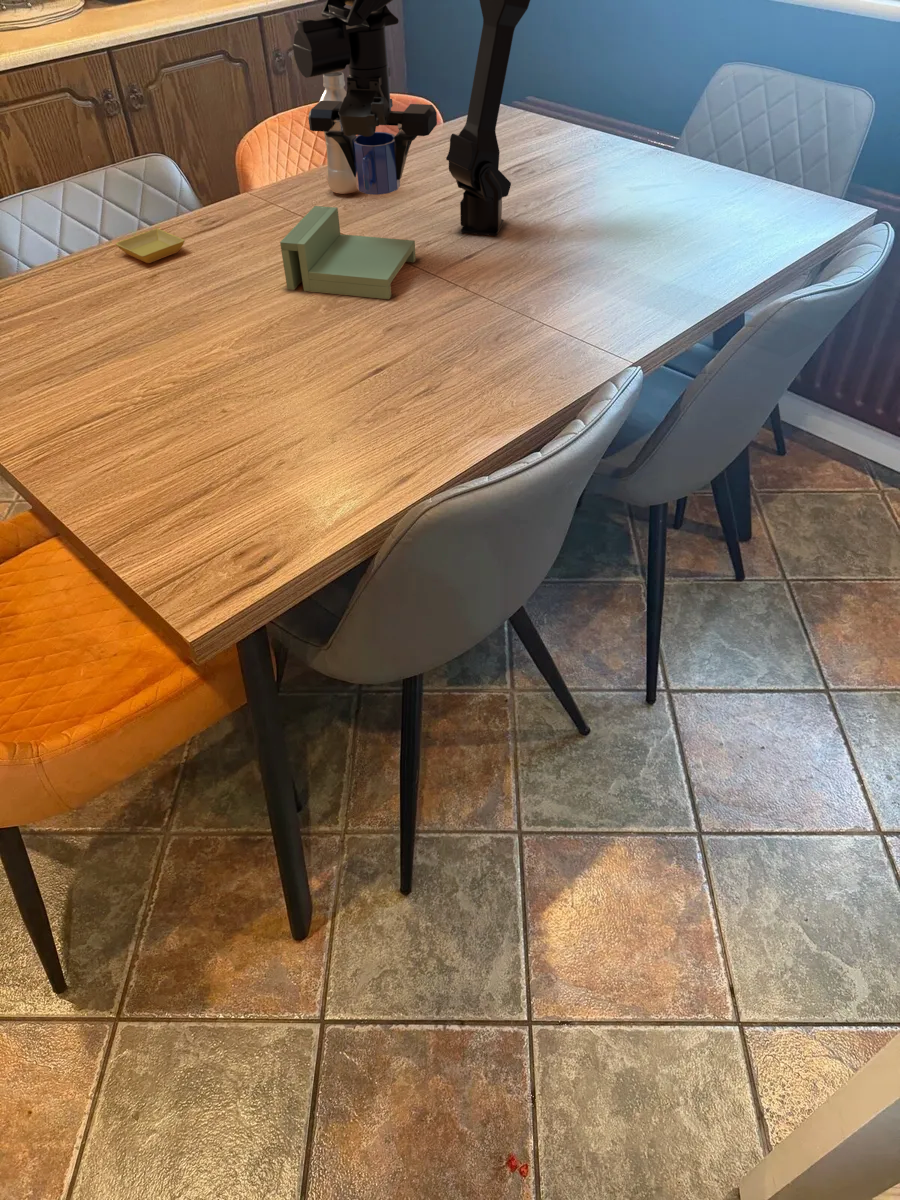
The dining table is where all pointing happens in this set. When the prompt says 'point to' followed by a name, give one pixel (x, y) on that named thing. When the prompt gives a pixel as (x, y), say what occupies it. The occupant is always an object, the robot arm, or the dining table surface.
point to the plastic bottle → (337, 163)
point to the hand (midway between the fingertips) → (377, 177)
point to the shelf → (341, 258)
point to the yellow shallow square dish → (151, 245)
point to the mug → (375, 163)
